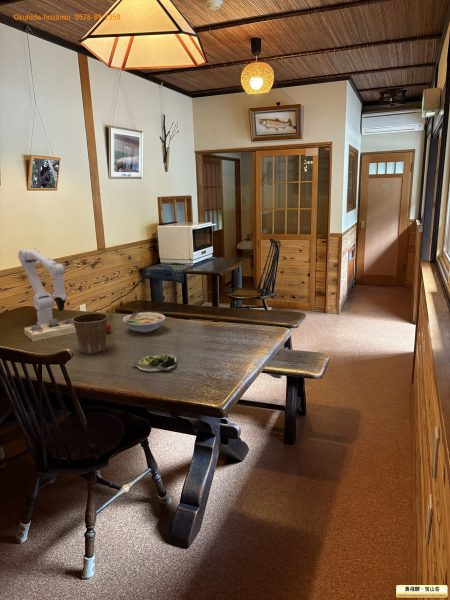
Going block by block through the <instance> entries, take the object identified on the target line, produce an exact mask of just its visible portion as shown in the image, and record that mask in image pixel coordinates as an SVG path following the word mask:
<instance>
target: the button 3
mask: <svg viewBox="0 0 450 600" xmlns="http://www.w3.org/2000/svg"><path fill="white" fill-rule="evenodd" d="M72 319H73V318H67V319H65V320H66V324H67V325H68V324H73V323H74V322H73V321H72Z"/></svg>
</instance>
